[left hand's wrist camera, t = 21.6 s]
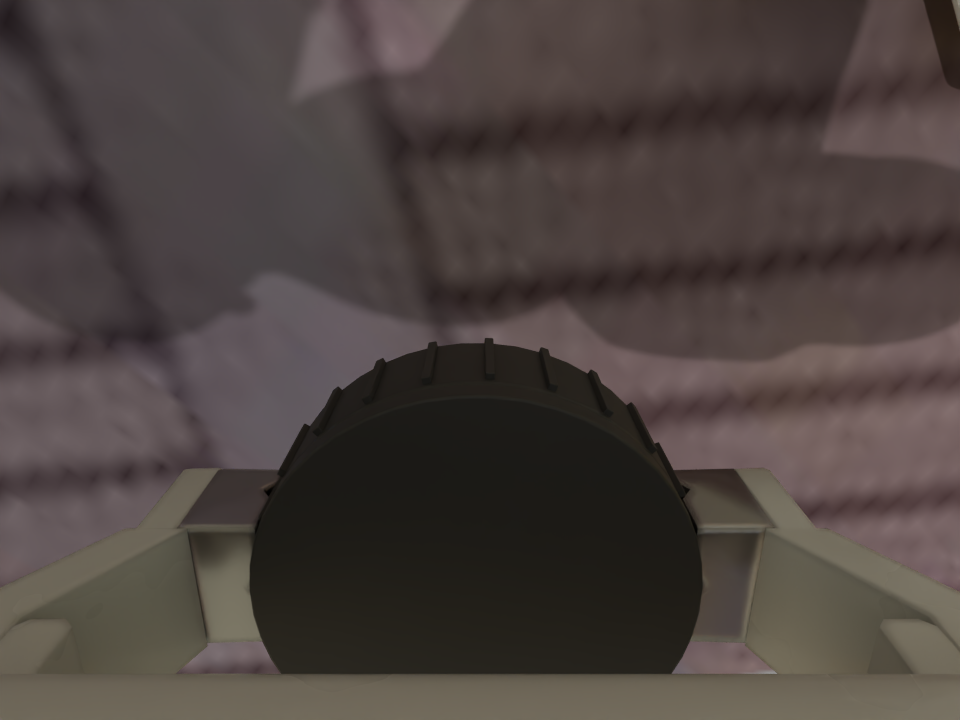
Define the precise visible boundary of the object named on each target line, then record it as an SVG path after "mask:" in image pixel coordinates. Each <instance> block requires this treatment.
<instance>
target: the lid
mask: <svg viewBox="0 0 960 720" xmlns="http://www.w3.org/2000/svg"><path fill="white" fill-rule="evenodd" d="M277 475H279V476H280V477H279V479H278V481H277V482H276V484H275V486H274V488H273V490H272V492H271V494H270V496H269V497H268V499H267V501H266V503H265V505H264V507H263V509H262V511H261V512H260V514H259V517H258V519H259V523H260V524H259V527H258V530H257V533H256V536H255V539H254V542H253V548H252V554H251V560H250V582H249V590H250V596H251V603H252V609H253V615H254V618H255V622H256V625H257V628H258V631H259V634H260V637H261V639H262V641H263V644H264V646H265V648H266V650H267V652H268V654H269V656H270V658H271V660H272V661H273V663H274V664H275V666H276V667H277V668H278V670H279V671H280V673H281V674H671V673H672V672H673V670H674V669H675V667H676V666H677V664H678V663H679V661H680V660H681V658H682V657H683V654H684V652H685V650H686V648H687V646H688V644H689V642H690V640H691V637H692V635H693V632H694V629H695V625H696V622H697V618H698V615H699V611H700V604H701V596H702V589H703V577H702V559H701V554H700V549H699V544H698V538H697V536H696V533H695V530H694V527H693V525H692V522H691V519H690V516H689V514H688V512H687V510H686V508H685V506H684V504H683V502H682V500H681V497H684V496H686V494H685V491H684V489H683V487H682V485H681V483H680V482H679V480H678V478H677V476H676V474H675V472H674V470H673V468H672V466H671V464H670V463H669V461H668V459H667V457H666V455H665V453H664V451H663V449H662V447H661V446H660V444H659V442H658V443H655V444H654V442H653V440H652V438H651V436H650V434H649V432H648V430H647V428H646V426H645V424H644V422H643V420H642V418H641V416H640V415H639V413H638V411H637V409H636V407H635V406H634V405H633V403H632V402H631V403H629V404H628V405H626V404H624V403H623V402H622V401H621V400H620V399H619V398H618V397H617V396H616V395H615V394H614V393H613V392H612V391H611V390H610V389H608V388H607V387H606V386H604V385H603V384H602V383H601V381H600V379H599V376H598V374H597V373H596V372H595V371H593V370H590V371H589V373H588V374H587V373H585V372H584V371H582V370H580V369H578V368H576V367H574V366H573V365H571V364H569V363H567V362H564V361H562V360H559V359H556V358H554V357H551V356H550V354H549V351H548V349H545V348H542V347H541V348H540V351H539V352H536V351H532V350H528V349H524V348H520V347H515V346H507V345H498V344H493V338H485V343H466V344H454V345H446V346H437V342H430V343H429V344H428V349H425V350H421V351H417V352H413V353H409V354H406V355H404V356H401V357H399V358H396V359H394V360H391V361H389V362H385V360H384V359H383V358H382V359H380V360H378V361H376V364H375V366H374V369H373V370H371V371H369V372H368V373H366V374H364V375H362V376H360V377H359V378H358V379H356V380H355V381H354V382H352V383H351V384H350V385H348V386H347V387H346V388H345V389H343V390H342V389H340V388H339V387H337V388H335V389H334V390H333V392H332V394H331V396H330V398H329V400H328V402H327V404H326V406H325V407H324V408H323V409H322V411H321V412H320V414H319V415H318V416H317V418H316V419H315V420H314V422H313V423H312V424H311V426H308V425H307V424H304V425H303V427H302V429H301V430H300V432H299V434H298V436H297V438H296V440H295V441H294V443H293V445H292V447H291V449H290V451H289V452H288V454H287V456H286V458H285V460H284V462H283V463H282V465H281V467H280V469H279V471H278V473H277Z"/></svg>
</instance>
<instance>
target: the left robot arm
mask: <svg viewBox="0 0 960 720" xmlns="http://www.w3.org/2000/svg"><path fill="white" fill-rule="evenodd" d="M278 471H279V470H268V469H221V468H199V469H187V470H184V471H183V472H182V473H181V474H180V475H179V477H178V478H177V479H176V480H175V482H174V483H173V484H172V485H171V486H170V488H169V489H168V490H167V491H166V493H165V494H164V495H163V496H162V497H161V499H160V500H159V501H158V502H157V504H156V505H155V506H154V507H153V508H152V510H151V511H150V512H149V513H148V515H147V516H146V517H145V518H144V519H143V521H142V522H141V523H140V524H139V526H138V527H137V528H131V529H123V530H121V531H119V532H117V533H115V534H113V535H111V536H108V537H106V538H104V539H102V540H100V541H98V542H96V543H94V544H92V545H89V546H87V547H85V548H83V549H81V550H79V551H77V552H75V553H72V554H70V555H68V556H66V557H64V558H62V559H60V560H58V561H56V562H53V563H51V564H49V565H47V566H45V567H43V568H41V569H39V570H37V571H34V572H32V573H30V574H28V575H26V576H24V577H22V578H20V579H18V580H15V581H13V582H11V583H9V584H7V585H5V586H3V587H1V588H0V720H960V592H959V591H956V590H954V589H952V588H950V587H948V586H946V585H944V584H942V583H940V582H938V581H936V580H933V579H931V578H929V577H927V576H925V575H923V574H921V573H919V572H917V571H915V570H913V569H911V568H908V567H906V566H904V565H902V564H900V563H898V562H896V561H894V560H892V559H890V558H888V557H886V556H883V555H881V554H879V553H877V552H875V551H873V550H871V549H869V548H867V547H865V546H863V545H861V544H858V543H856V542H854V541H852V540H850V539H848V538H846V537H844V536H842V535H840V534H838V533H836V532H833V531H831V530H829V529H822V528H816V527H815V526H814V525H813V524H812V522H811V521H810V520H809V519H808V517H807V516H806V515H805V514H804V513H803V511H802V510H801V509H800V508H799V506H798V505H797V504H796V503H795V501H794V500H793V499H792V498H791V496H790V495H789V494H788V493H787V491H786V490H785V489H784V488H783V486H782V485H781V484H780V483H779V481H778V480H777V479H776V478H775V476H774V475H773V474H772V473H771V471H769V470H767V469H765V468H747V469H701V470H674V472H675V474H676V476H677V478H678V480H679V482H680V483H681V485H682V487H683V489H684V491H685V494H686V496H684V497H681V500H682V502H683V504H684V506H685V508H686V510H687V512H688V514H689V516H690V519H691V522H692V525H693V527H694V530H695V533H696V536H697V538H698V544H699V549H700V554H701V559H702V577H703V589H702V596H701V604H700V611H699V615H698V618H697V622H696V625H695V629H694V632H693V635H692V637H691V640H690V641H697V642H734V643H746V644H745V646H746V647H748V648H749V649H750V650H751V651H752V652H753V653H754V654H756V655H757V656H758V657H759V658H760V659H761V660H762V661H764V662H765V663H766V664H767V665H768V666H769V667H770V668H772V669H773V670H774V671H775V672H776V673H777V674H176V673H177V672H178V671H179V670H180V669H181V668H183V667H184V666H185V665H186V664H187V663H188V662H190V661H191V660H192V659H193V658H194V657H195V656H197V655H198V654H199V653H200V652H201V651H202V650H204V649H205V648H206V647H207V643H219V642H254V641H262V639H261V637H260V634H259V631H258V628H257V625H256V622H255V618H254V615H253V609H252V603H251V596H250V590H249V582H250V560H251V554H252V548H253V542H254V539H255V536H256V533H257V530H258V527H259V524H260V523H259V519H258V517H259V514H260V512H261V511H262V509H263V507H264V505H265V503H266V501H267V499H268V497H269V496H270V494H271V492H272V490H273V488H274V486H275V484H276V482H277V481H278V479H279V477H280V476H279V475H277V473H278Z"/></svg>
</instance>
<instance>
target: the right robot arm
mask: <svg viewBox="0 0 960 720" xmlns="http://www.w3.org/2000/svg"><path fill="white" fill-rule="evenodd" d="M952 3H953V7H954V11H955V15H956V18H957V22H958V26H959V30H960V0H952Z"/></svg>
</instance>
